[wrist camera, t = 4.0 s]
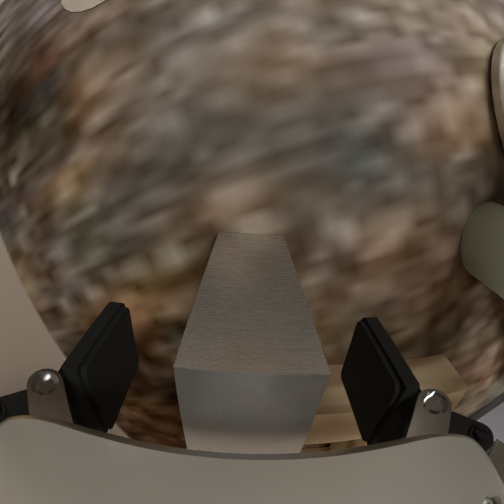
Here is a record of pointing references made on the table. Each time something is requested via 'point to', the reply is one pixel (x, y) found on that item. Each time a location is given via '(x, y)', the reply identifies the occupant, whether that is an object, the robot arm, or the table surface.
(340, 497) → the robot arm
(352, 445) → the socket block
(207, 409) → the block
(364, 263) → the table surface
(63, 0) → the wineglass
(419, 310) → the table surface
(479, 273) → the round bit
